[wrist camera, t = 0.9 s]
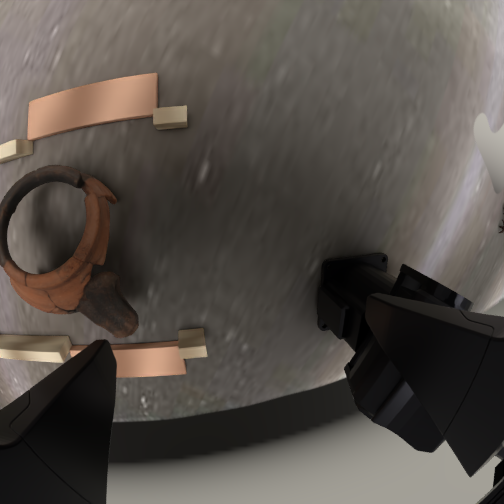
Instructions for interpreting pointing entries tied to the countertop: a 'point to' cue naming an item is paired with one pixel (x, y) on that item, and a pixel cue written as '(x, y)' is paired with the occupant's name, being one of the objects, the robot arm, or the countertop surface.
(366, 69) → the countertop surface
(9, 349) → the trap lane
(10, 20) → the countertop surface
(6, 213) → the pottery mug
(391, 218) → the countertop surface
